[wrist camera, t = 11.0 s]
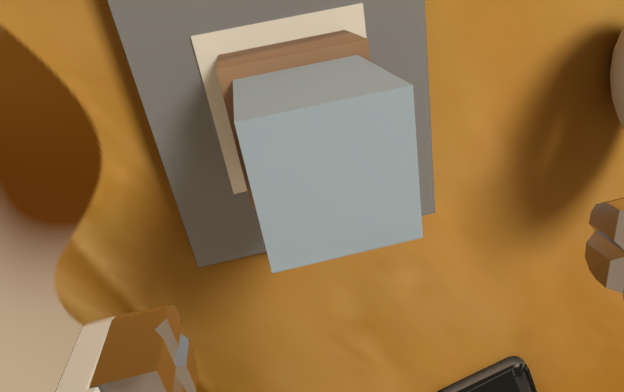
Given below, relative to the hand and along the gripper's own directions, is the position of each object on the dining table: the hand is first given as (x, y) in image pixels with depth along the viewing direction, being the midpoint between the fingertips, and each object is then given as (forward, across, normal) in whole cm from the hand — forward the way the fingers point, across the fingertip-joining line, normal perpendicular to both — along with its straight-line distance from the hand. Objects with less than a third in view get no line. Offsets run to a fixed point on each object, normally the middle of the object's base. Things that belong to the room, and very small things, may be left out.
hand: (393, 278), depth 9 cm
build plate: (+16, 0, +1) cm, 16 cm away
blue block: (+11, 0, 0) cm, 11 cm away
